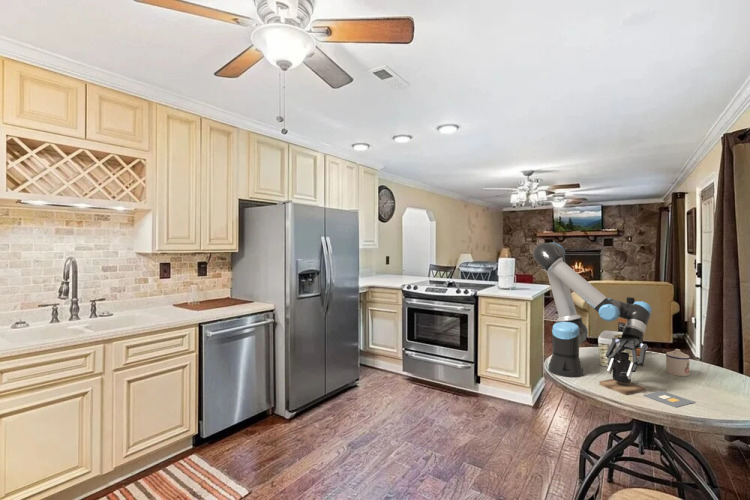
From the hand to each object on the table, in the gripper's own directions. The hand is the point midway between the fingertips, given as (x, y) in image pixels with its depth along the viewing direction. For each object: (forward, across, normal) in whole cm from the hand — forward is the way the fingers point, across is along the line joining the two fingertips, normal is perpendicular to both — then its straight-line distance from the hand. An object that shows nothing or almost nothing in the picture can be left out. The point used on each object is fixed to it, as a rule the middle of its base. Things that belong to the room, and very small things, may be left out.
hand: (618, 374), depth 159 cm
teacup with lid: (-28, -8, -37) cm, 47 cm away
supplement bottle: (0, 0, -5) cm, 5 cm away
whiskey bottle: (-39, +17, -49) cm, 65 cm away
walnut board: (+2, 0, -7) cm, 7 cm away
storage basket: (-22, +15, -32) cm, 42 cm away
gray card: (+1, -16, -8) cm, 18 cm away
